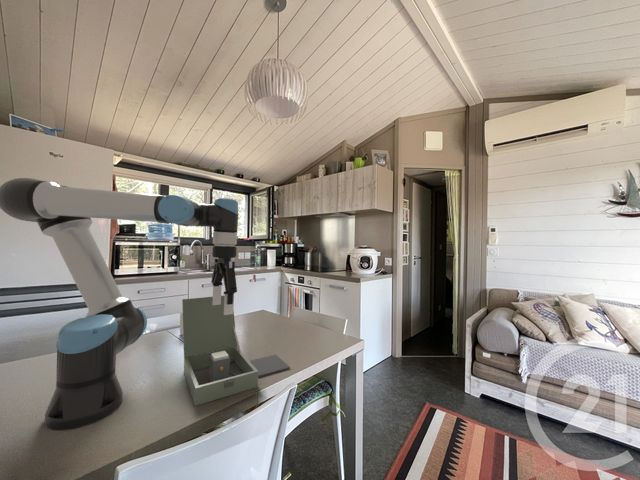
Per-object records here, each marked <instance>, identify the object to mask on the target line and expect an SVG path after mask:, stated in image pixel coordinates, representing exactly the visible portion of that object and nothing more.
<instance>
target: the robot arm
mask: <svg viewBox="0 0 640 480" xmlns="http://www.w3.org/2000/svg"><path fill="white" fill-rule="evenodd" d="M0 209H1V210H2V211H3V213H6V214H7V215H8V216H10V217H12V218H14V219H16V220H20V221H25V222H30V223H31V222H32V223H37V224H38V226H39V229H40V231H41V232H42V233H41V234H43V235H44V236H48V237H50V238H52V239H53V241H54V243H55V246H56V247H57V250H58V251H59V253H60V256H61V257H62V259H63V262H64V264H65V265H66V267H67V269H68V271H69V274H70V275H71V277H72V279H73V280H74V283H75V285H76V287H77V289H78V291H79V293H80V295H81V297H82V299H83V301H84V303H85V305H86V307H87V309H88V311H87V313H86V315H85V316H84V317H79V318H76V319H74V320H72V321H70V322H68V323H66V324H65V325H63V326H62V327H61V328H60V329H59V331H58V334H57V335H58V336H57V341H56V343H55V345H56V377H55V378H56V380H55V381H56V383H55V384H56V385H55V386H56V387H55V389H54V392H53V395H52V397H51V399H50V401H49V404H48V406H47V407H46V408H47V409H46V410H45V414H44V416H45V417H44V425H46V426H47V427H48V428H47V427H46V426H45V427H46V428H47V429H49V428H50V430H53V429H54V430H53V431H62V430H63V431H65V430H66V431H67V430H72V429H77V428H81V427H84V426H88V425H91V424H93V423H95V422H97V421H100V420H101V419H104V418H105V417H107V416H110V415H111V414H112V413H113V412H115V411H116V410H117V409H118V408H119V407H120V406H121V405H122V403H123V395H124V394H123V389H122V386H121V384H120V381H119V379H118V376H117V374H116V373H117V372H116V365H117V359H116V358H117V355H118V354H119V353H121V352H122V351H124V350H125V349H126V348H128V347H129V346H131V345H133V344H134V343H136V342H137V341H138V340H139V338H141V336H143V335H144V333H145V331H146V329H147V325H148V318H147V315H146V313H145V312H144V310H143V309H141V308H140V307H137V306H134V305H133V303H132V301H131V299H130V298H129V297H125V296H123V295H122V293H121V291H120V290H119V286H118V285H117V283H116V281H115V279H114V277H113V275H112V273H111V271H110V269H109V267H108V264H107V262H106V261H105V258H104V257H103V254H102V252H101V251H100V249H99V248H100V247H99V245H98V244H97V242H96V239H95V238H94V236H93V233H92V232H91V230H90V227H91V225H92V224H93V220H92V219H107V220H119V221H121V220H122V221H134V222H136V221H138V222H150V223H151V222H153V223H164V224H173V225H174V224H175V225H176V226H183V227H208V228H209V227H210V228H213V232H212V244H213V245H212V253H211V255H212V257H213V258H214V266H213V271H212V275H211V276H212V277H211V281H210V283H211V284H212V297H213V299H212V305H221V296H222V286H223V284H224V288H225V289H224V291H223V296H224V315H229V314H233V310H234V305H235V304H234V301H235V293H237V292H238V287H237V278H236V268H235V267H236V266H235V264H236V263H235V261H234V260H233V261H231V260H232V258H236V257H237V251H238V250H237V249H238V248H237V246H236V245H238V239H239V236H238V225H239V224H238V223H239V203H238V201H237V200H235V199H233V198H227V197H225V198H224V197H217V198H215V199H214V203H199V202H198V203H197V202H195V201H193V200H191V199H189V198H187V197H185V196H184V195H179V194H169V195H161V194H151V193H139V192H128V191H117V190H106V189H105V190H104V189H94V188H81V187H70V186H68V185H67V186H66V185H59V184H57V183H56V182H53V181H47V180H41V179H36V178H31V177H19V178H18V177H17V178H13V179H10V180H8V181H5V182H4V183H3V184H2V185H0Z"/></svg>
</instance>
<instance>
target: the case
mask: <svg viewBox="0 0 640 480" xmlns="http://www.w3.org/2000/svg"><path fill="white" fill-rule="evenodd" d="M224 296H225V295H221V305H212V299H213V296H205V297H195V298H185V299H181V301H182V303H181V304H182V305H181V306H182V310H183V336H182V337H183V372H184V373H183V374H184V377H185V380H186V383H187V385H188V389H189V392H190V394H191V398H192V402H193V403H194V404H193V405H194V406H195V407H196V406H198V405H199V406H200V405H203V404H205V403H209V402H212V401H215V400H218V399H222V398H225V397H228V396H231V395H236V394H238V393H243V392H246V391H249V390H251V389H255V388H258V387H259V378H258V370H257V369H256V368H255V367H254V366H253V365H252V363H251V362H250V361H251V360H249V359H248V358H247V356H245V354H244V353H243V352H242V351H241V348H240V347H241V346H240V342H239V340H238V335H237V331H236V322H235V321H236V320H235V311H234V309H233V314H229V315H224ZM221 351H226V353H227V354H228V355H229V358H230V363H231V362H235V363H236V365H237V366H238V367H239V369H240V370H241V371H242V373H240V374H238V375H234V376H229V378H225V379H222V380H218V381H214V382H206V383H204V384H200V385H199V382H198V380H197V377H196V375H195V372H194V371H198V370H202V369H207V368H210V356H211V353H216V352H221Z"/></svg>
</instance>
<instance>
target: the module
mask: <svg viewBox="0 0 640 480" xmlns="http://www.w3.org/2000/svg"><path fill="white" fill-rule="evenodd" d="M230 363H231V362H230V358H229V355H228V354H227V353H226V351H221V352H216V353H211V356H210V367H209V374H208V375H209V376H208V377H209V379H210V381H211V382H214V381H218V380H222V379H225V378H229V377H230Z"/></svg>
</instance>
